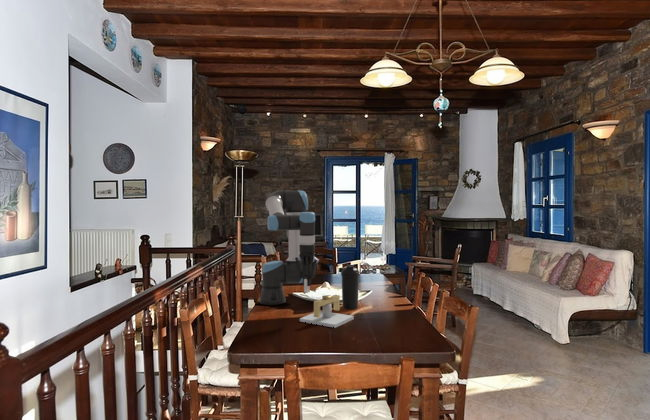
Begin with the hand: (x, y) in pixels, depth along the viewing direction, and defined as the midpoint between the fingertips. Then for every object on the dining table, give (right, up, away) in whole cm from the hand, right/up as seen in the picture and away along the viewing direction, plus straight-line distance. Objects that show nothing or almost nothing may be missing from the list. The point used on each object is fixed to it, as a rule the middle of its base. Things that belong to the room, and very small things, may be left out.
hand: (306, 292), depth 214 cm
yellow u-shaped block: (+10, -11, +2) cm, 15 cm away
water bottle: (+23, -14, +28) cm, 39 cm away
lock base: (+10, -14, +2) cm, 17 cm away
